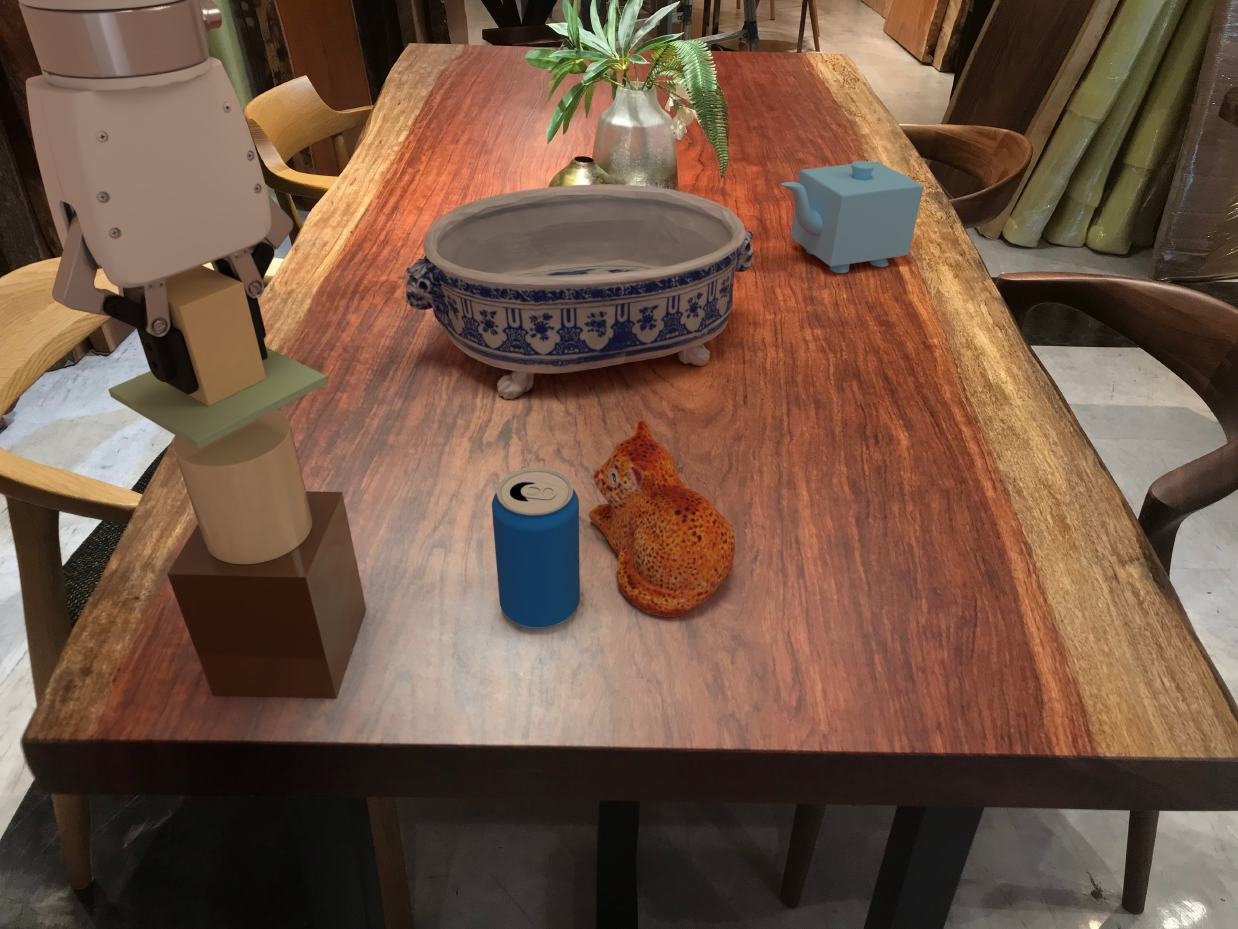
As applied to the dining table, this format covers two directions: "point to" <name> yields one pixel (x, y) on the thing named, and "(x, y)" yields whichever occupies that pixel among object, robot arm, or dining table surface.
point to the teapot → (854, 213)
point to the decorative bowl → (580, 277)
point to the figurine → (660, 529)
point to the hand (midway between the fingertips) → (214, 366)
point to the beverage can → (537, 546)
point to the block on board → (227, 410)
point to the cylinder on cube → (266, 568)
